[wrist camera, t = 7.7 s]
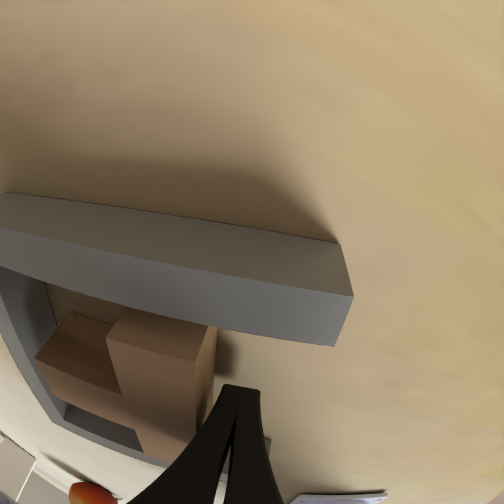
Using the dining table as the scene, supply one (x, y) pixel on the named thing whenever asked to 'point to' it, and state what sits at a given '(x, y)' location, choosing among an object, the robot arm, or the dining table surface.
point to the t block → (136, 374)
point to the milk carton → (14, 468)
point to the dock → (158, 285)
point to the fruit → (90, 494)
